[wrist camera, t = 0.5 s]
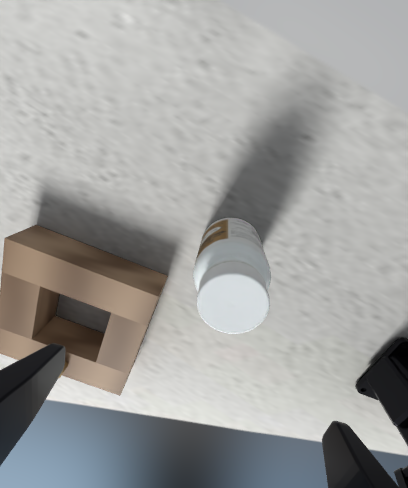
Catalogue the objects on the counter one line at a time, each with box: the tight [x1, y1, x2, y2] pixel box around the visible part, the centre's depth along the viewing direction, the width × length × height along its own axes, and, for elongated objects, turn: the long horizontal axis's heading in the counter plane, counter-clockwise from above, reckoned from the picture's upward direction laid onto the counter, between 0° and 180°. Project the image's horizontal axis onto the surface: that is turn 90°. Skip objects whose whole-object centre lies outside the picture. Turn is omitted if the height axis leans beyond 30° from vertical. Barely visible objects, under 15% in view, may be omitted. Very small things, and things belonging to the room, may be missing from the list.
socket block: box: [0, 225, 168, 395], centre depth 20 cm, size 11×11×4 cm
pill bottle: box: [193, 218, 271, 334], centre depth 15 cm, size 4×4×8 cm
